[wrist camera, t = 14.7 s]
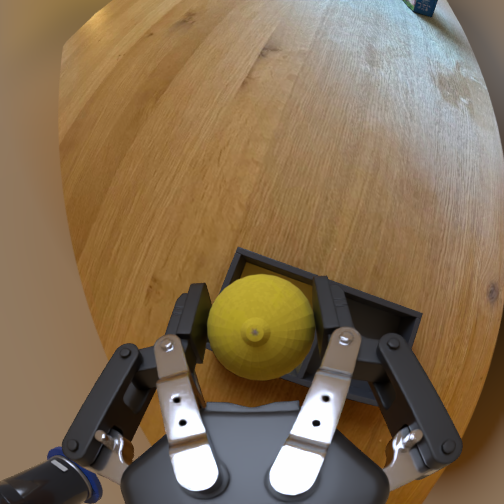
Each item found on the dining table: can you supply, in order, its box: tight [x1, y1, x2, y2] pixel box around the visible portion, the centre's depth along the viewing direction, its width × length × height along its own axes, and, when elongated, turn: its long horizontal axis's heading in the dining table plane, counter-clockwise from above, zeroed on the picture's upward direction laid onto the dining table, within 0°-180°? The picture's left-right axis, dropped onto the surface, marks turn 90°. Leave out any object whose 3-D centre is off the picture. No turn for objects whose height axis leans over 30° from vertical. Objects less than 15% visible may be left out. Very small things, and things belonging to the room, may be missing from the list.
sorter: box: [206, 247, 423, 407], centre depth 27 cm, size 10×20×4 cm, turn 69°
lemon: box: [207, 274, 316, 381], centre depth 14 cm, size 6×6×8 cm
